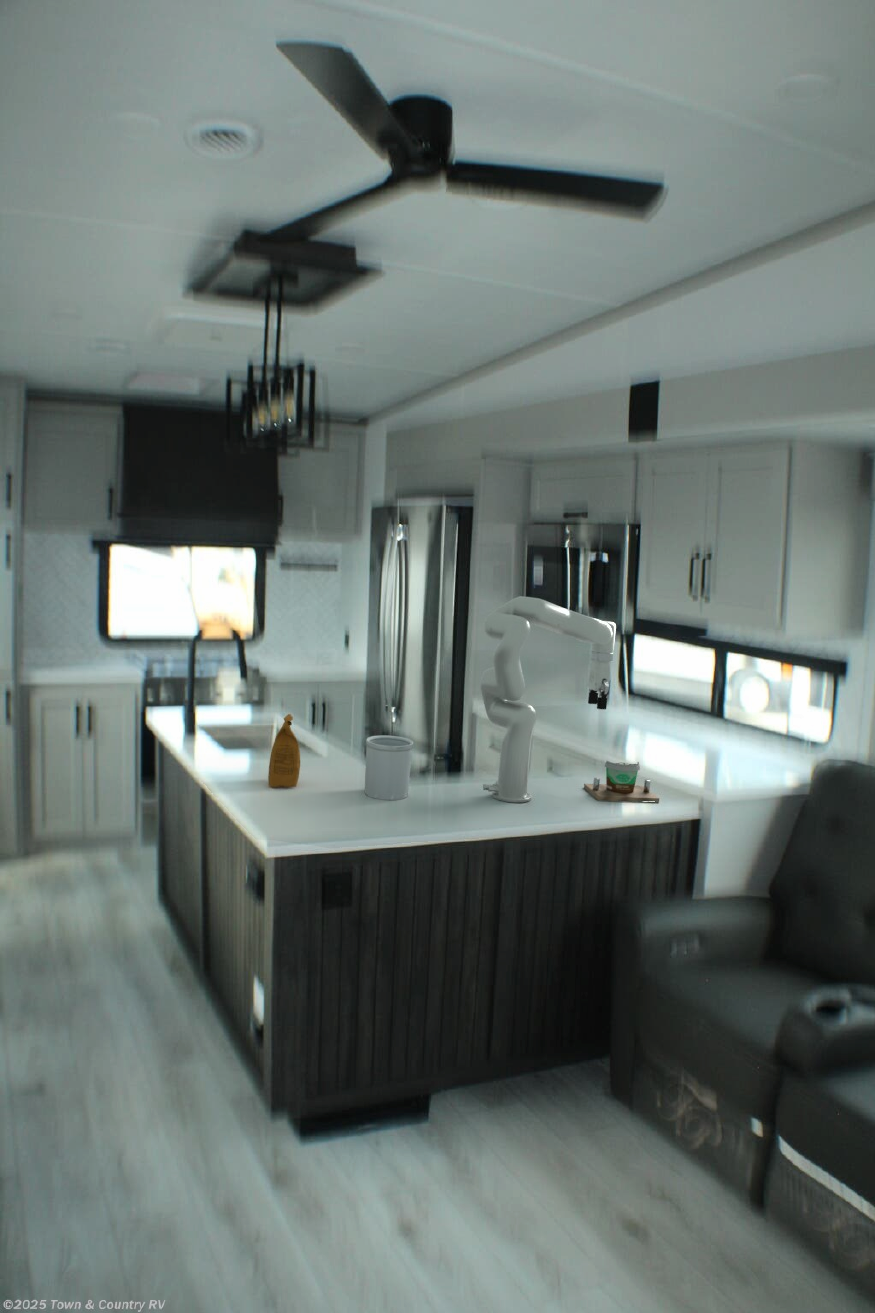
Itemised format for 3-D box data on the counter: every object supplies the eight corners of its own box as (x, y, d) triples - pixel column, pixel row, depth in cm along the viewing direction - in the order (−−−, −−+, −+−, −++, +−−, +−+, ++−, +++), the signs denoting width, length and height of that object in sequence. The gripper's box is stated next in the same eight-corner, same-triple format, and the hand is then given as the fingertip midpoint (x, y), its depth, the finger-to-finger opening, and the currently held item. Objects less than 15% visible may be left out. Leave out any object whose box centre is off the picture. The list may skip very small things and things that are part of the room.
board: (598, 800, 328) (600, 784, 327) (583, 787, 343) (585, 772, 343) (658, 802, 331) (660, 786, 330) (641, 790, 347) (643, 774, 346)
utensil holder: (403, 803, 306) (407, 747, 304) (356, 797, 309) (360, 742, 307) (414, 792, 321) (418, 738, 319) (369, 786, 324) (373, 733, 321)
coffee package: (301, 780, 324) (305, 714, 321) (297, 790, 312) (301, 721, 309) (270, 778, 323) (274, 712, 321) (265, 788, 311) (269, 719, 308)
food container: (608, 794, 331) (611, 764, 330) (602, 789, 337) (605, 760, 336) (643, 795, 334) (646, 766, 332) (636, 790, 340) (639, 761, 338)
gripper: (583, 653, 348) (578, 701, 350) (599, 660, 331) (594, 710, 333) (604, 654, 349) (599, 702, 351) (620, 661, 332) (615, 711, 334)
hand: (596, 706), depth 342 cm, fingers open, 9 cm apart
